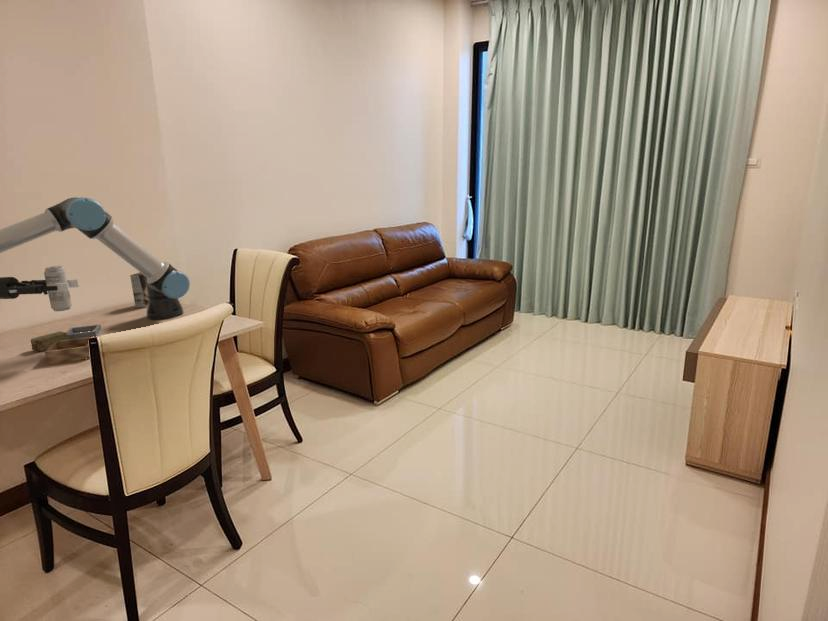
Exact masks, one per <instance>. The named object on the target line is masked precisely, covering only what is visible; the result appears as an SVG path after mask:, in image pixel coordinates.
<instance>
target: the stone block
mask: <svg viewBox="0 0 828 621" xmlns="http://www.w3.org/2000/svg"><path fill="white" fill-rule="evenodd" d="M66 332H67V331H66ZM66 332H65V331H56V332H52V333H48V334H44V335H41V336H36V337H33V338H31V339H30V344H31V350H32V351H33V352H35V351H36V352H43V351H44V352H45V351H46V350H47V349H48V348H49V347H50V346H51V345H52V344H53V343H54V342H55V341H61V340H69V337H68V334H67V333H66Z"/></svg>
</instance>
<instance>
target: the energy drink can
mask: <svg viewBox="0 0 828 621" xmlns="http://www.w3.org/2000/svg"><path fill="white" fill-rule="evenodd" d="M43 276H44V280H45V281H46V285H47V284H58V283H67V280H68V279H67V275H66V271H65V269H64V268H63V266H62V265H53V266H47V267H44V272H43ZM47 293H48V294H47V295H48V299H49V303H50V308H51V310H53V311H54V312H65V311H69V310H70V309H71V307H72V306H73V305H72V304H73V303H72V300H71V293H70V291H64V292H48V291H47Z"/></svg>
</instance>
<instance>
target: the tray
mask: <svg viewBox="0 0 828 621" xmlns="http://www.w3.org/2000/svg"><path fill="white" fill-rule="evenodd" d="M101 329H102V325H101V323H100V324H90V325H84V326H75V327H69V328H68V329H67V330H66V333H67V334H68V337H69V339H77V338H85V337H93V336H97V337H98V336H99V335H100V333H101V332H100V330H101ZM93 330H94V331H93ZM88 331H90V332H88ZM101 331H102V330H101ZM80 332H82V333H80ZM99 332H100V333H99ZM97 334H99V335H97Z"/></svg>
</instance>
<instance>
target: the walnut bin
mask: <svg viewBox="0 0 828 621" xmlns="http://www.w3.org/2000/svg"><path fill="white" fill-rule="evenodd" d="M94 337H96V336H94ZM89 338H91V337H85V338H77V339H69V340H61V341H55V342H54V343H53V344H52V345H51V346H50V347H49V348H48V349H47V350H45V351H44V354H45V359H46V363H47V365H55V364H54V363H56V364H63V363H69V361H71V362H76V361H75V360H78V361H82V360H81V359H85V360H90V359H89V358H90V357H89V345H88V339H89ZM96 338H97V337H96ZM86 358H87V359H86ZM62 362H63V363H62Z"/></svg>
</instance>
